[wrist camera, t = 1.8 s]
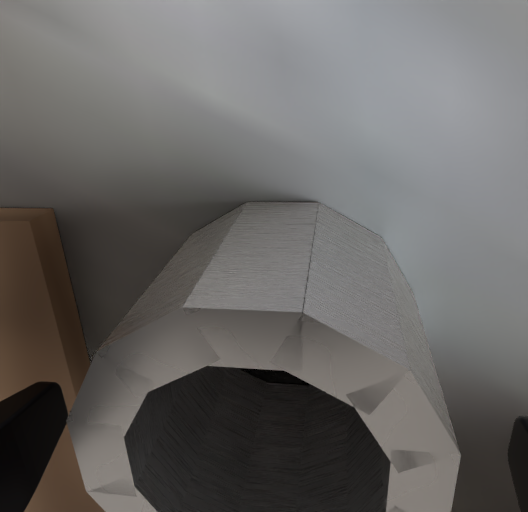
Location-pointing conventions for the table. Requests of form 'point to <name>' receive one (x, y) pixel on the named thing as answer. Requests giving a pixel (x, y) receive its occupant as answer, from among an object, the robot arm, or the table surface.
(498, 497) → the table surface
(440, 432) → the tube
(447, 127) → the table surface
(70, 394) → the post base
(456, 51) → the table surface
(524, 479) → the robot arm
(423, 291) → the table surface
